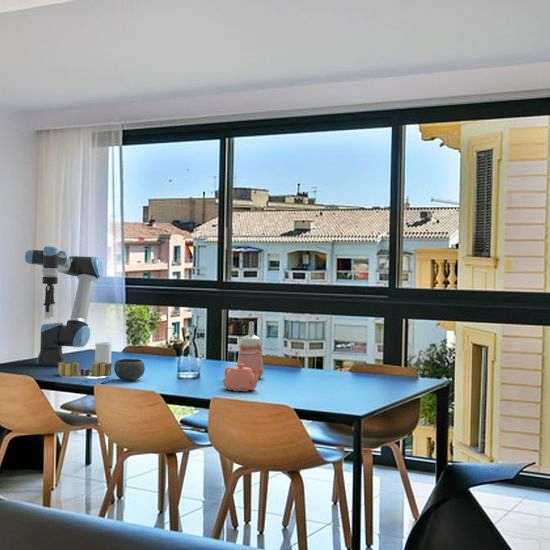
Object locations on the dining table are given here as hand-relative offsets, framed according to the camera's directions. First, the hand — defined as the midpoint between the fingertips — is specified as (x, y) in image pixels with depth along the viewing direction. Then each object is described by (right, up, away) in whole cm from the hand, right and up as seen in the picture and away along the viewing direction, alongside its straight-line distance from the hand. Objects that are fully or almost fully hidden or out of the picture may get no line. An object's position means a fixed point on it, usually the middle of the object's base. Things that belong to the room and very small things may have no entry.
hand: (48, 317), depth 406 cm
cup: (+26, -30, +6) cm, 40 cm away
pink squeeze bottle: (+103, -32, +7) cm, 109 cm away
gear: (+14, -28, -13) cm, 34 cm away
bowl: (+44, -31, -14) cm, 56 cm away
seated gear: (+29, -28, -11) cm, 42 cm away
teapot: (+101, -33, -33) cm, 111 cm away
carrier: (+21, -30, -12) cm, 38 cm away
